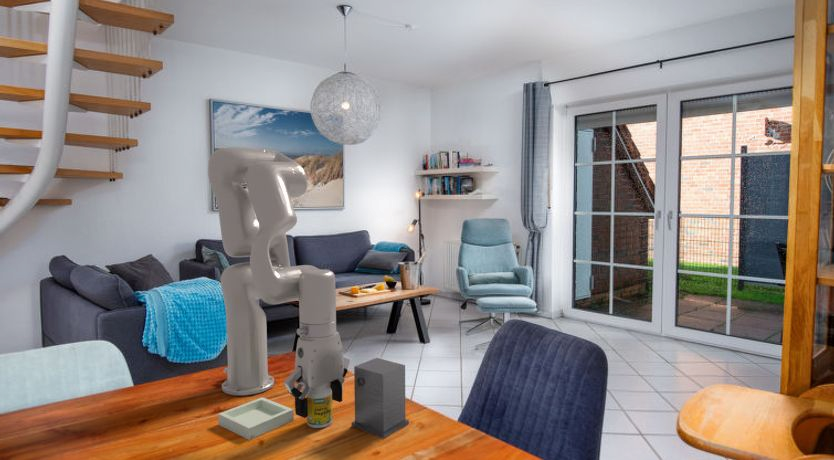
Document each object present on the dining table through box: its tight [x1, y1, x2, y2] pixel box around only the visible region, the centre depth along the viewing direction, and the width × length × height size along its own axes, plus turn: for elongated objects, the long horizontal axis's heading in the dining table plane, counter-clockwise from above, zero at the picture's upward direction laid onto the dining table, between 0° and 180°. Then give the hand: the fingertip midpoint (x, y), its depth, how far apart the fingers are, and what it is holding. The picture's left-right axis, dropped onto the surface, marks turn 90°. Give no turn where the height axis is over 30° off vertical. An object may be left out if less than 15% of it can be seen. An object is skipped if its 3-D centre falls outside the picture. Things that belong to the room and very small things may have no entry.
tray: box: [217, 396, 295, 441], centre depth 108 cm, size 11×11×2 cm
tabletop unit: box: [351, 357, 410, 439], centre depth 107 cm, size 9×8×13 cm
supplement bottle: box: [305, 383, 334, 429], centre depth 108 cm, size 5×5×10 cm
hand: (319, 407), depth 108 cm, fingers open, 9 cm apart
